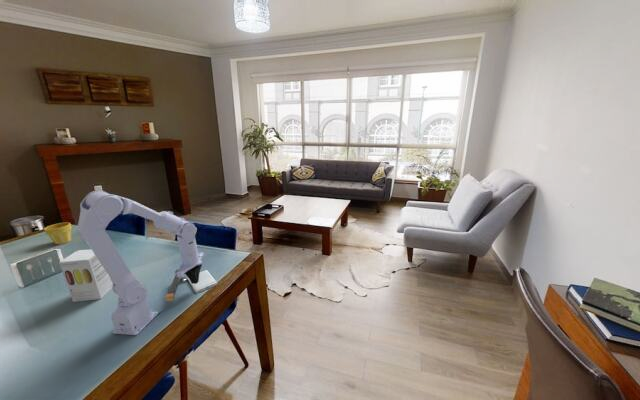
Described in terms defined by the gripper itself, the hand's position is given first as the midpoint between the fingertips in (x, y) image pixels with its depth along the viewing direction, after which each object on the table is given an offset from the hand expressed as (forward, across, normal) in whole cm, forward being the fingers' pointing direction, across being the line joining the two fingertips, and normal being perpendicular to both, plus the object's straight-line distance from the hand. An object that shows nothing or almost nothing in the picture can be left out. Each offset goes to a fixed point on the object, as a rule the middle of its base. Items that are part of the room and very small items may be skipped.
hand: (195, 282), depth 97 cm
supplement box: (+3, -5, +38) cm, 39 cm away
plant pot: (+3, +34, +100) cm, 106 cm away
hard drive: (+4, +5, 0) cm, 6 cm away
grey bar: (0, -2, +6) cm, 7 cm away
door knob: (+3, +5, +9) cm, 11 cm away
